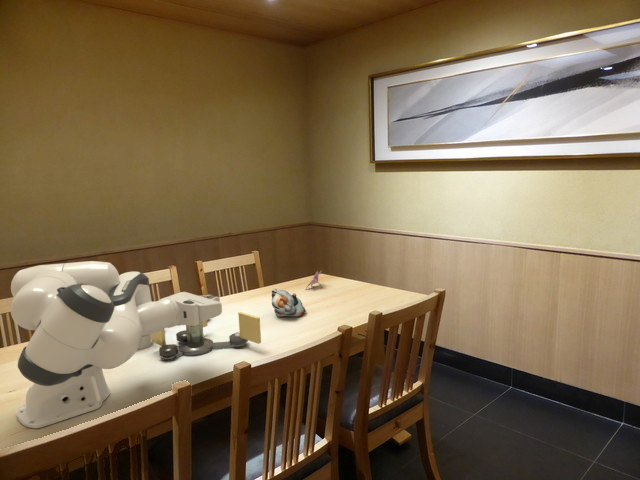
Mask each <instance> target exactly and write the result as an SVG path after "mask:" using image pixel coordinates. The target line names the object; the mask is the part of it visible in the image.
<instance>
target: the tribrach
mask: <svg viewBox="0 0 640 480" xmlns="http://www.w3.org/2000/svg"><path fill="white" fill-rule="evenodd" d="M205 327H208V320H206V321H199V324H198V325H195V326H190V325H185V328H186V329H185V330H181V331H178V332H176V334H175V336H176V337H175V338H176V341H177V342H178V344H167V341H166V331H165V328H164V329H162V330H161V331H159V332H156V333H153V334H151V343H153V344H155V345H158V346H159V349H158V352H159V357H161V359H162V360H163V361H165V362H170V361H173V360H175V359H177V358H180V357H182V356H183V357H184V356H186V357H198V356H202V354H203V355H206V354H208V353H210V352H211V351H213V350H222V349H223V348H224V349H241V348H244V347H245V346H246V343H245V344H241V345H233V344H230V340H229V341H217V342H214V341H213V340H212V339H211V338H206V337H204V328H205ZM212 349H213V350H212ZM224 349H223V350H224ZM209 351H210V352H209ZM205 353H206V354H205Z"/></svg>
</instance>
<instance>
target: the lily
mask: <svg viewBox="0 0 640 480" xmlns="http://www.w3.org/2000/svg"><path fill="white" fill-rule="evenodd" d="M321 273H322V270H320V271H319V272H318V270H317V271H316V273H315V274H314V275H313V277H311V279H312V280H311V281H310V282H309V283H308V285H307V286H306V287H305V289H307V288H308V287H310V286H311V287H312V286H313V285H314V284H319V285H320V288H321V289H322V290H324V288H323V286H322V285H321V283H320V282H319V276H320V274H321Z"/></svg>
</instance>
